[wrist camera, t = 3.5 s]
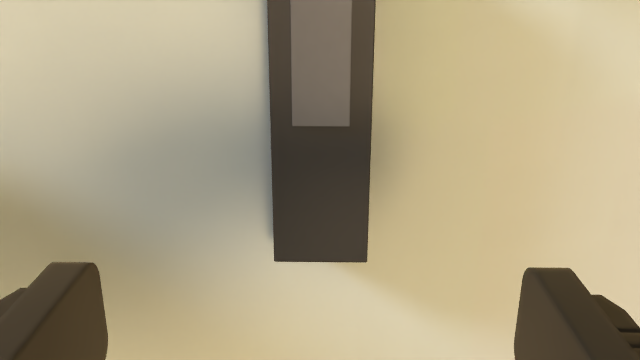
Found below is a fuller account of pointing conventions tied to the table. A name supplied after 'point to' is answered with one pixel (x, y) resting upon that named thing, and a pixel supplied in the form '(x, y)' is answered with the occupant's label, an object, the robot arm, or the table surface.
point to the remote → (321, 127)
